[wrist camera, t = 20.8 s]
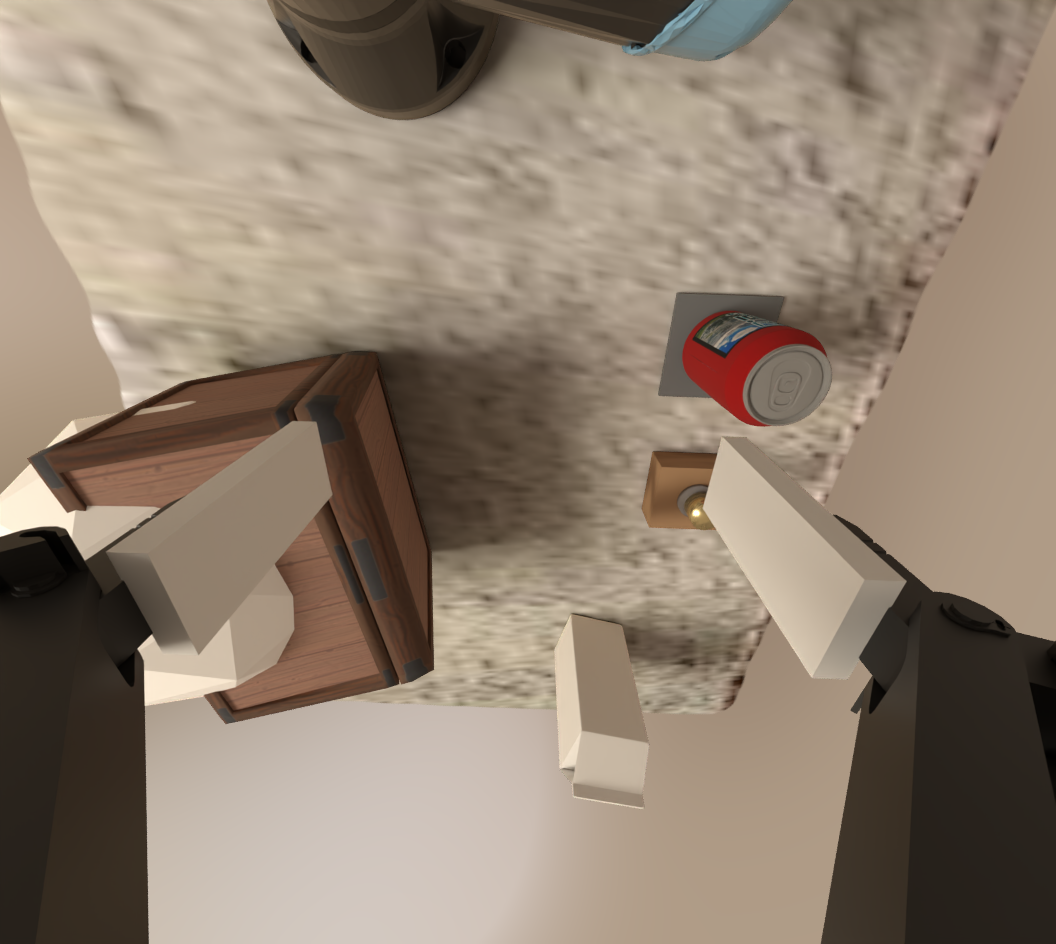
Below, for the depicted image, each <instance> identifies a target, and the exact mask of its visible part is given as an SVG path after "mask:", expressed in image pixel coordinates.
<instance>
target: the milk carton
mask: <svg viewBox="0 0 1056 944" xmlns="http://www.w3.org/2000/svg"><path fill="white" fill-rule="evenodd" d="M555 673H556V696H557V718H558V739H559V761H560V770H561V771H562V773H563V774H564V775H565V776H566V777H567V779H568V780H569V781H570V782H571V784H572V790H573V797H575V798H580V799H586V800H592V801H598V802H604V803H610V804H616V805H622V806H628V807H634V808H640V809H644V808H645V806H644V801H643V788H644V780H645V773H646V765H647V758H648V751H649V742H648V737H647V733H646V728H645V724H644V719H643V715H642V711H641V706H640V702H639V697H638V693H637V689H636V684H635V680H634V676H633V671H632V667H631V662H630V658H629V654H628V649H627V645H626V640H625V636H624V632H623V627H622V625H619V624H615V623H611V622H606V621H601V620H597V619H592V618H588V617H583V616H578V615H574V614H571V615H570V617H569V619H568V621H567V624H566V626H565V628H564V630H563V632H562V635H561V637H560V639H559V641H558V643H557V646H556V648H555Z"/></svg>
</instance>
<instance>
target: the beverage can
mask: <svg viewBox="0 0 1056 944" xmlns="http://www.w3.org/2000/svg"><path fill="white" fill-rule="evenodd" d="M682 361H683V366H684V369H685V372H686V374H687V375H688V377H689V378H690V379H691V380H692V381H693V382H694V383H696V384H697V385H698V386H699V387H700V388H701V389H702V390H703V391H705V392H706V393H707V394H708V395H709V396H711V397H712V398H713V399H714V400H715V401H717V402H718V403H719V404H720V405H721V406H723V407H724V408H725V409H726V410H728V411H729V412H730V413H731V414H733V415H734V416H735V417H736V418H738V419H739V420H741V421H742V422H744V423H747V424H749V425H754V426H783V425H789V424H792V423H795V422H797V421H800V420H801V419H803V418H805V417H807V416H808V415H809V414H811V413H812V412H813V411H814V410H815V409H816V408H817V407H818V406H819V405H820V404H821V403H822V401H823V400H824V398H825V397H826V395H827V393H828V391H829V388H830V385H831V381H832V368H831V365H830V362H829V360H828V359H827V355H826V352H825V350H824V348H823V346H822V345H821V343H820V342H819V341H818V340H817V339H816V338H815V337H814V336H812V335H811V334H809V333H807V332H804V331H801V330H798V329H795V328H792V327H789V326H786V325H782V324H779V323H776V322H773V321H769V320H766V319H762V318H759V317H756V316H752V315H748V314H745V313H741V312H737V311H722V312H718V313H715V314H712V315H710V316H708V317H706V318H705V319H703V320H702V321H701V322H699V323H698V324H697V325H696V326H695V327H694V328H693V330H692V331H691V332H690V334H689V335H688V337H687V339H686V342H685V344H684V348H683V353H682Z"/></svg>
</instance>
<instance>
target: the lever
mask: <svg viewBox="0 0 1056 944" xmlns="http://www.w3.org/2000/svg"><path fill="white" fill-rule="evenodd" d="M706 494H707V493H702V492H700V493H695V494H693V495H691V496H690V497H689V498H688V499H687V500H686V501H685V504H684V510H685V512H686V514H687V515H688V517H689V519H690V521H691V522H692V524H693V526H694V527H696V528H697V529H700V530H708V529H712V528H714V525H713V524H712V522H711V520H710V519H709V517H708V516H707V514H706V513H705V511H704V510H703V505H704V502H705V498H706Z"/></svg>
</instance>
